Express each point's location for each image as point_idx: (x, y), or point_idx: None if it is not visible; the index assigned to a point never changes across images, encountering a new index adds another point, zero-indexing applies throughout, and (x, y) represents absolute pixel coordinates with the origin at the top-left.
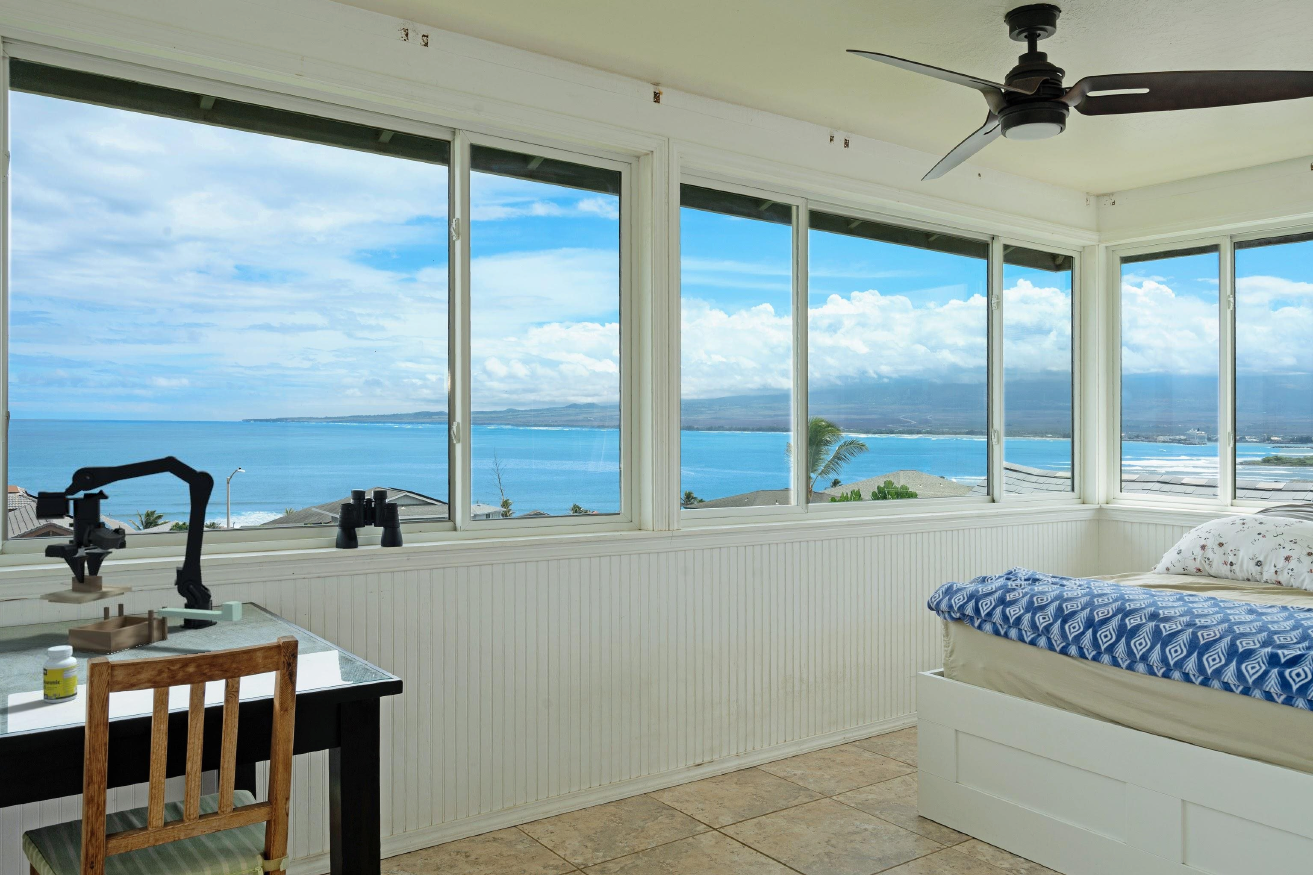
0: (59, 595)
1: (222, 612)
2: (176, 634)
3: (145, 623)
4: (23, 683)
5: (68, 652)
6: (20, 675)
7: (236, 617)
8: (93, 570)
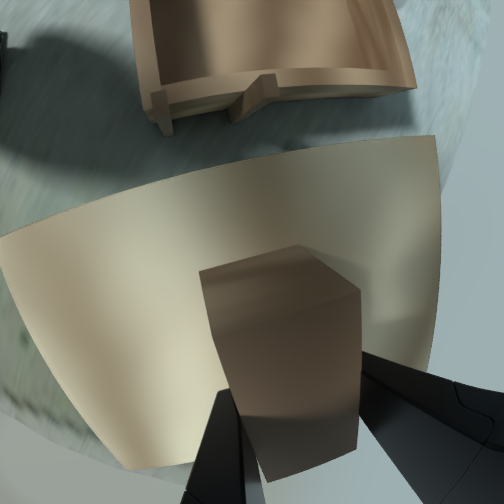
0: (423, 301)
1: None
2: (75, 7)
3: None
4: (481, 10)
5: None
6: (478, 41)
7: None
8: (248, 470)
